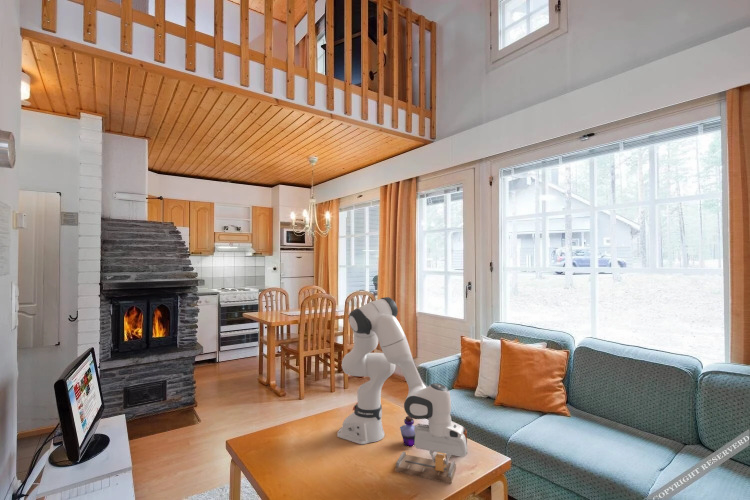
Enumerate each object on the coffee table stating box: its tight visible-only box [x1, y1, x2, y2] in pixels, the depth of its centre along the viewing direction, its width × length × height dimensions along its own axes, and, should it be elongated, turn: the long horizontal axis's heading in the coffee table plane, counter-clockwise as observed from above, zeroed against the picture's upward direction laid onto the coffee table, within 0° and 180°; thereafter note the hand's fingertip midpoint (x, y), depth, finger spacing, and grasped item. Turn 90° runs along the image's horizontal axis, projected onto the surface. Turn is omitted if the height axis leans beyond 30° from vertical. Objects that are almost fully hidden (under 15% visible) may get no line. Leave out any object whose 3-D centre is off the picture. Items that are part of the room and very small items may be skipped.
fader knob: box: [435, 452, 447, 472], centre depth 144 cm, size 3×5×5 cm, turn 158°
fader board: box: [394, 451, 457, 484], centre depth 146 cm, size 22×10×3 cm, turn 68°
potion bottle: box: [399, 415, 416, 448], centre depth 168 cm, size 9×9×12 cm
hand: (440, 462), depth 144 cm, fingers closed on fader knob, 3 cm apart
